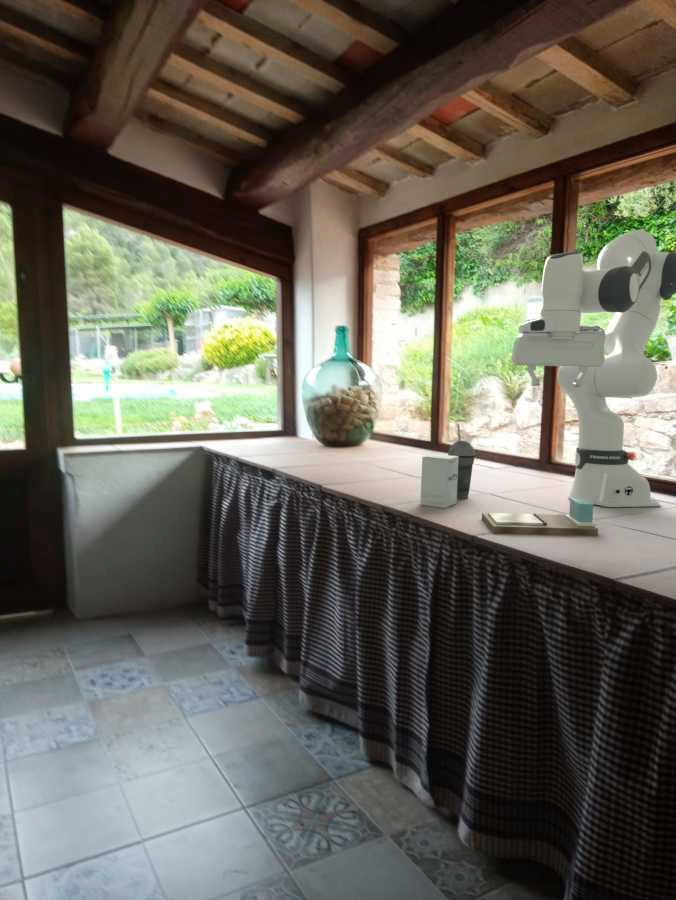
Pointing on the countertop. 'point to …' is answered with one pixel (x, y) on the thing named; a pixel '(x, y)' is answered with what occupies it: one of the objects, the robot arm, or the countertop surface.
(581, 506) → the teal and white block
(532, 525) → the board
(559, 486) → the countertop surface
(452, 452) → the beverage cup
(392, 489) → the countertop surface
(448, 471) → the supplement box
